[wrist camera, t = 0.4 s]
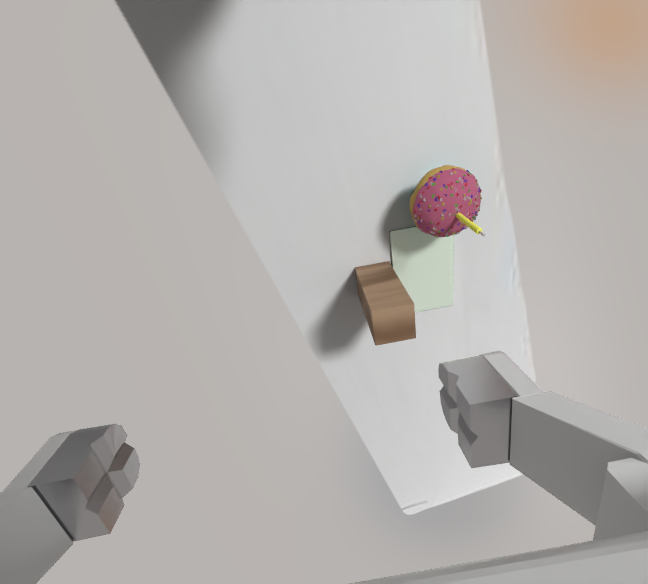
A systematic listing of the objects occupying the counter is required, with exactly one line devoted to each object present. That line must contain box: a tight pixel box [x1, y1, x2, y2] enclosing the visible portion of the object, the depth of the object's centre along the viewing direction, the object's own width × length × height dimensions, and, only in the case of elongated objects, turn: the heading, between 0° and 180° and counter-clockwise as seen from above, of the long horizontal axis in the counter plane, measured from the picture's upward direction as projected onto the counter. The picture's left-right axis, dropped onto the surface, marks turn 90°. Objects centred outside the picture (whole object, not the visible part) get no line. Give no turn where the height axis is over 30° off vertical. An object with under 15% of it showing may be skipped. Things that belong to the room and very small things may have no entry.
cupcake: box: [410, 165, 485, 238], centre depth 41 cm, size 9×8×12 cm
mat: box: [390, 227, 454, 312], centre depth 51 cm, size 14×9×1 cm, turn 10°
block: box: [355, 261, 416, 345], centre depth 46 cm, size 5×5×12 cm
